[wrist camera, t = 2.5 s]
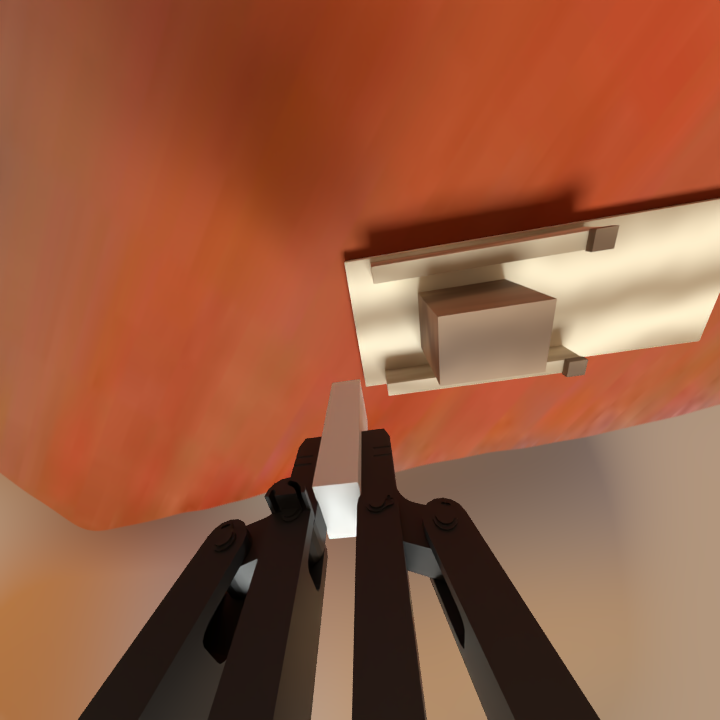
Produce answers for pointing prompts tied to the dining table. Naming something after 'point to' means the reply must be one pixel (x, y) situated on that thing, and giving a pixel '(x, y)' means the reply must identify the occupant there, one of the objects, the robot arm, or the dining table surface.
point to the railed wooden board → (551, 288)
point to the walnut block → (485, 331)
